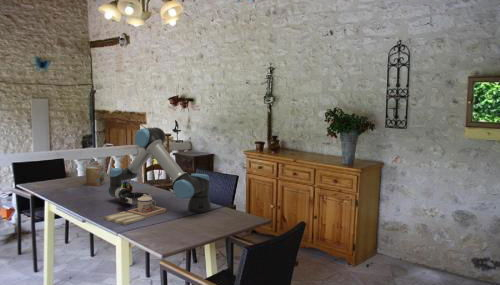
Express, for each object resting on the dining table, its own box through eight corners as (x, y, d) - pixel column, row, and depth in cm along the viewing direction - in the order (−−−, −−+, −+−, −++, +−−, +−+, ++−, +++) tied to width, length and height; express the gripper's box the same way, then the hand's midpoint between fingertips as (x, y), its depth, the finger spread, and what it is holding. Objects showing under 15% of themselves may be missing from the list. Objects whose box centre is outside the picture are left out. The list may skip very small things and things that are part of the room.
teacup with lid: (141, 216, 249) (141, 197, 248) (134, 212, 256) (134, 194, 255) (159, 212, 257) (159, 194, 256) (152, 209, 264) (152, 191, 263)
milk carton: (99, 186, 328) (99, 162, 326) (86, 185, 328) (85, 161, 326) (104, 183, 338) (104, 160, 336) (91, 183, 338) (91, 159, 336)
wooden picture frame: (166, 211, 260) (166, 208, 260) (144, 218, 245) (144, 214, 245) (149, 207, 268) (149, 204, 268) (127, 213, 253) (127, 210, 253)
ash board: (145, 219, 243) (145, 216, 243) (124, 225, 231) (124, 222, 231) (124, 213, 253) (124, 211, 253) (103, 219, 241) (103, 216, 240)
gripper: (139, 196, 284) (158, 202, 269) (105, 202, 265) (123, 209, 251) (140, 185, 283) (158, 191, 269) (105, 191, 265) (123, 197, 250)
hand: (141, 199), depth 260 cm, fingers open, 13 cm apart
